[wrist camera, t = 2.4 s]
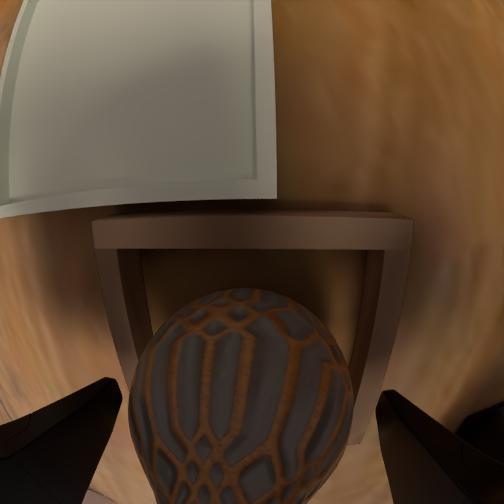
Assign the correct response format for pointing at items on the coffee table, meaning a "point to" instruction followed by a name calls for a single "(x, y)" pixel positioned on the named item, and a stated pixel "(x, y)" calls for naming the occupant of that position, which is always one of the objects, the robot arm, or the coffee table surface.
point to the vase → (240, 402)
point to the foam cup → (95, 498)
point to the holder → (262, 237)
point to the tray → (137, 104)
